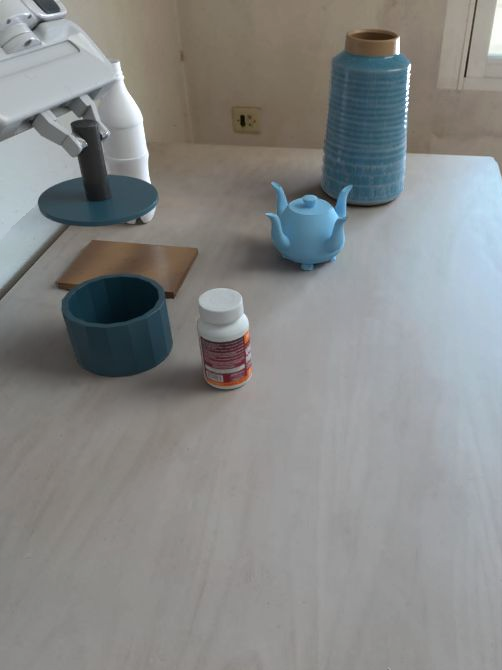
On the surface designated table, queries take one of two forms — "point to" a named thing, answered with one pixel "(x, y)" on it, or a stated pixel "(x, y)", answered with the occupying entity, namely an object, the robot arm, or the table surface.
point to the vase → (367, 119)
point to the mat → (132, 263)
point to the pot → (118, 324)
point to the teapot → (308, 228)
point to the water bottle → (124, 134)
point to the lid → (96, 189)
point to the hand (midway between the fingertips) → (93, 146)
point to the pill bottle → (224, 339)
